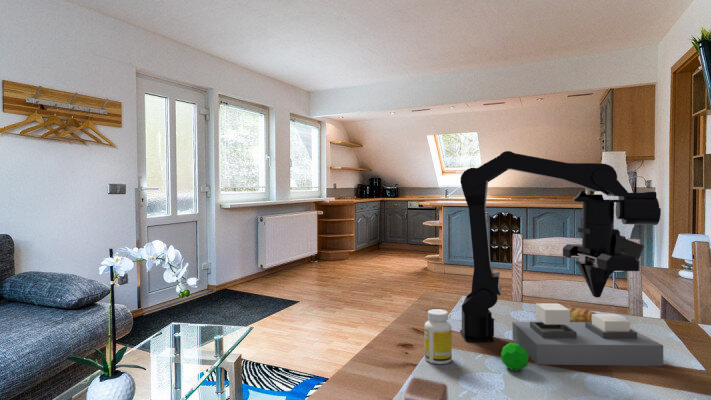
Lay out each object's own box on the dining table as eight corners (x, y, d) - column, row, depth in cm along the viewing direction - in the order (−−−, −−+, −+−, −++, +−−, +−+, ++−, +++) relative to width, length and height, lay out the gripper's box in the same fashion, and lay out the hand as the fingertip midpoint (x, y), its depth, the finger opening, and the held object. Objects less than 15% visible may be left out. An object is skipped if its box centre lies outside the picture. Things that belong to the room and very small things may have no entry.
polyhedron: (502, 373, 75) (502, 348, 75) (499, 362, 80) (499, 338, 80) (531, 375, 74) (531, 350, 74) (526, 364, 79) (526, 340, 79)
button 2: (604, 335, 82) (604, 321, 82) (591, 327, 87) (591, 314, 87) (629, 335, 82) (629, 321, 82) (615, 327, 87) (615, 314, 87)
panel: (537, 364, 79) (536, 338, 79) (512, 338, 93) (512, 316, 93) (663, 365, 78) (663, 339, 78) (619, 339, 92) (619, 317, 91)
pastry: (611, 325, 102) (611, 310, 102) (605, 332, 97) (605, 316, 97) (571, 318, 109) (570, 304, 109) (563, 324, 104) (563, 309, 104)
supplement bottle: (456, 359, 82) (456, 311, 82) (442, 367, 78) (441, 317, 78) (434, 352, 85) (434, 306, 85) (419, 359, 82) (419, 311, 81)
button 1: (545, 324, 83) (545, 310, 83) (535, 317, 88) (535, 303, 88) (570, 324, 83) (569, 310, 83) (558, 317, 88) (558, 303, 88)
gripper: (669, 227, 75) (668, 310, 75) (610, 220, 94) (609, 287, 94) (608, 227, 75) (607, 309, 76) (562, 220, 94) (561, 286, 94)
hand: (596, 296), depth 85 cm, fingers closed
